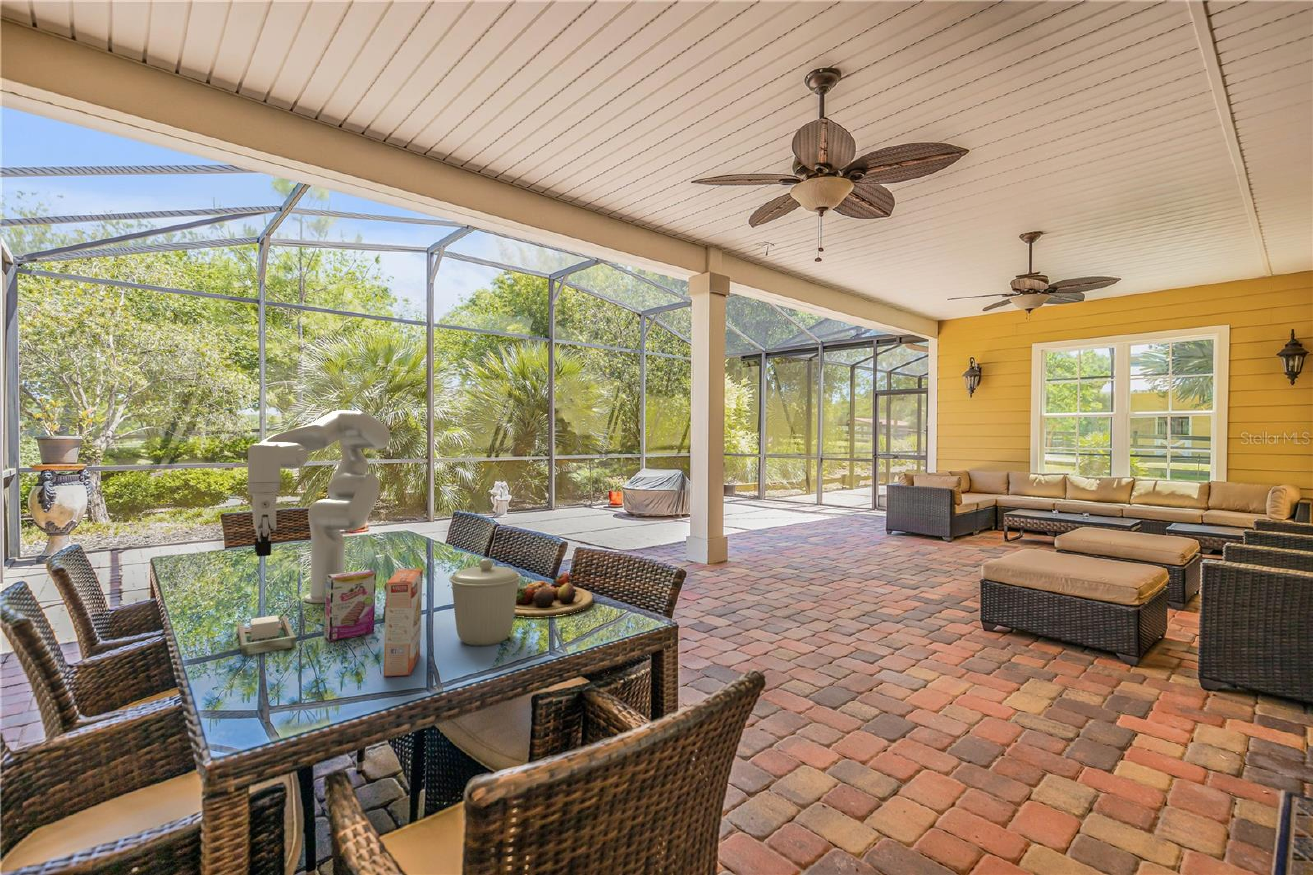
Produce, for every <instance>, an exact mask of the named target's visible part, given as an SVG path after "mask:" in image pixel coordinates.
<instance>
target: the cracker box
mask: <svg viewBox="0 0 1313 875" xmlns="http://www.w3.org/2000/svg"><path fill="white" fill-rule="evenodd" d="M423 572H424V571H423V569H422V568H407V569H406V568H405V569H403V568H401V569H398V570H397V571H396V572H395V573H394V574H393V575H392V576H391V578H389V580H388V581H386V582H387V583H386V582H385V584H386V591H385V600H386V608H385V622H384V642H383V643H384V644H383V645H384V646H383V677H402V676H403V677H404V676H410V675H411V672H412V671H413V669H414V667H415V665H416V663H417V661H418V658H419V656H420V654H421V637H422V636H421V634H422V633H421V629H422V628H421V627H422V603H423V602H422V600H423V598H422V597H423V595H422V594H423V576H424V574H423Z"/></svg>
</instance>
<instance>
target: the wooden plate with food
mask: <svg viewBox="0 0 1313 875" xmlns="http://www.w3.org/2000/svg"><path fill="white" fill-rule="evenodd" d="M570 580H571V579H570V575H569V573H567V572H561V574H559V575H558V574H557V575H556V576H555V579H553V580H552V581H553V582H552V583H550V582H547V581H543V580H537V581H534V582H531V583H529V584H528V585H525V586H522V587H518V590H517V598H516V606H515V613H514V615H516V616H524V617H545V616H556V615H563V614H570V613H574V612H577V611H580V610H583V609H585V610H586V608H587V607H588V608H589V607H591V606H590V605H593V602H594V597H593V594H592V592H590V591H588V590H586V589H584V588H580V587H575V586H574V584H572V583H571V582H570ZM588 608H587V609H588ZM583 611H584V610H583ZM580 612H581V611H580ZM574 614H575V613H574Z"/></svg>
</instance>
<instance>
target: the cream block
mask: <svg viewBox="0 0 1313 875" xmlns="http://www.w3.org/2000/svg"><path fill="white" fill-rule="evenodd" d="M279 624H280V619H279V616H278V614H277V615H271V616H270V615H269V616H262V617H256V618H250V628H251V632H250V640H251V639H253V640H257V639H258V640H259V639H267V638H272V637H273V636H274V637H279V635H280V628H279ZM266 637H267V638H266ZM274 637H273V638H274Z"/></svg>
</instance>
